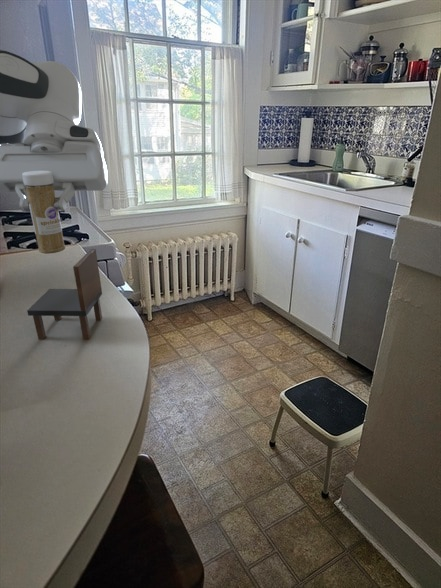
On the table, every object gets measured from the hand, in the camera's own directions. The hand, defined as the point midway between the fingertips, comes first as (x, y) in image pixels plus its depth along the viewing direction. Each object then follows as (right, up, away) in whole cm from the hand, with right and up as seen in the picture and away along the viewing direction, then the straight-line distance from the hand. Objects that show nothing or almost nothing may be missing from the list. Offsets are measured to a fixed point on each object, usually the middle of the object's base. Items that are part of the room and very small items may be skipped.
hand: (43, 209), depth 66 cm
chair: (+2, -21, +7) cm, 22 cm away
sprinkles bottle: (0, -7, +4) cm, 8 cm away
